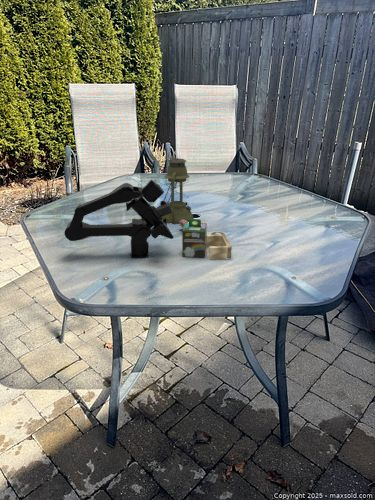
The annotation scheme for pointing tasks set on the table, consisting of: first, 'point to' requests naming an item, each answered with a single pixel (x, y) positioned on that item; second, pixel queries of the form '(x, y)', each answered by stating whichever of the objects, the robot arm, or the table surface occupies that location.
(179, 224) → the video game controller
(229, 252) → the wooden square frame
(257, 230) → the table surface
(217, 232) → the wheel
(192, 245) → the chalk box
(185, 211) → the lantern
